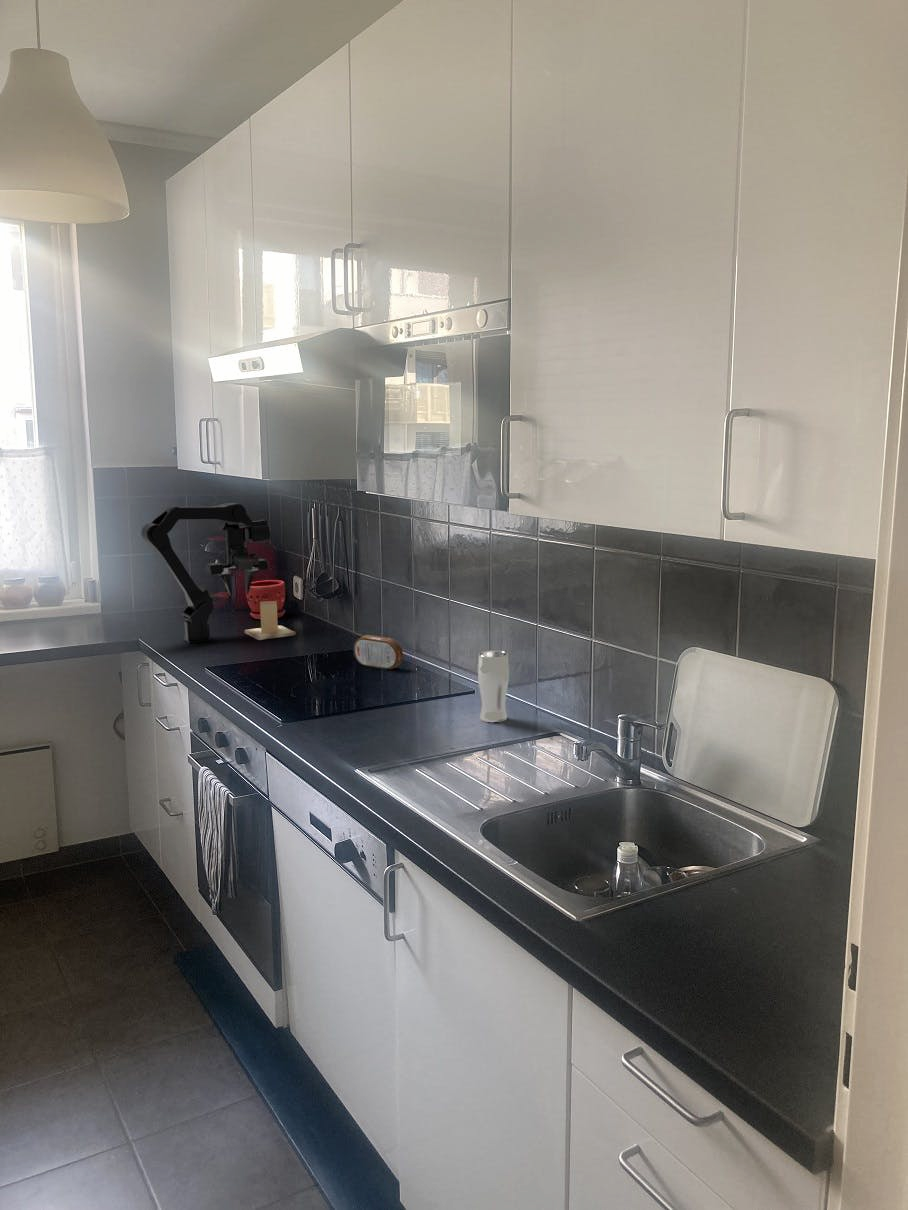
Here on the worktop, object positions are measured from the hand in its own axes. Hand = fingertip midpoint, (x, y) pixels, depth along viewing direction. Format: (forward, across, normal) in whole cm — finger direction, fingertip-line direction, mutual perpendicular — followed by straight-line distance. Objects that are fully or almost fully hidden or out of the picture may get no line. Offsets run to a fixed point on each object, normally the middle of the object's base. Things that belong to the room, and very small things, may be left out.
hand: (238, 593), depth 308 cm
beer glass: (+13, +16, -116) cm, 118 cm away
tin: (+13, +17, -60) cm, 64 cm away
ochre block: (+12, +8, -4) cm, 15 cm away
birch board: (+13, +8, -4) cm, 16 cm away
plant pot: (+13, +17, +22) cm, 31 cm away
